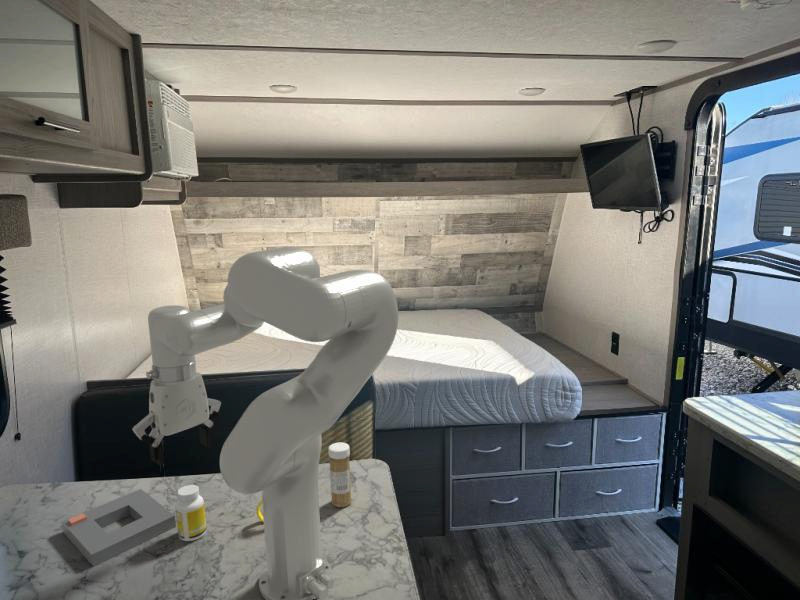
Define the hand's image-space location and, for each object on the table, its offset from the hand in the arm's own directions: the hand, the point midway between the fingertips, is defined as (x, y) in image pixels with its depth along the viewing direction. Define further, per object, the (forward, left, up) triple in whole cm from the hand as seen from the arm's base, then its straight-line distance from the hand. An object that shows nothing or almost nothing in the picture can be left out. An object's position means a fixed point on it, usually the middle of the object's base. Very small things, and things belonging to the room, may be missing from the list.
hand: (182, 453), depth 107 cm
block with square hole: (+13, +9, -18) cm, 23 cm away
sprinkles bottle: (-15, -27, -18) cm, 36 cm away
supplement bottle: (0, 0, -18) cm, 18 cm away
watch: (-9, -13, -18) cm, 24 cm away
